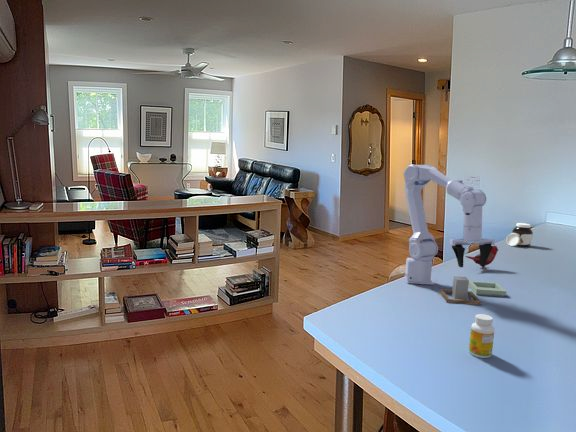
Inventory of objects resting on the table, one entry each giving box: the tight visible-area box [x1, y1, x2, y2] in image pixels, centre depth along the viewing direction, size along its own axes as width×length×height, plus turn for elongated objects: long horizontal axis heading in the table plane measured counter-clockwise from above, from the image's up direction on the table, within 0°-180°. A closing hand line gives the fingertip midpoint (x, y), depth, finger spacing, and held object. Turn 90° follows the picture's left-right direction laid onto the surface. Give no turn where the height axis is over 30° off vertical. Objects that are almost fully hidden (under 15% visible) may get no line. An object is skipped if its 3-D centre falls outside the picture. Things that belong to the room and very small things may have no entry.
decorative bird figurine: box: [464, 245, 499, 270], centre depth 199 cm, size 3×18×10 cm, turn 112°
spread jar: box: [505, 222, 534, 248], centre depth 251 cm, size 12×11×12 cm
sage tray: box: [468, 280, 507, 298], centre depth 170 cm, size 10×10×2 cm
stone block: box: [451, 276, 470, 300], centre depth 161 cm, size 4×4×7 cm
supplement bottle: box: [468, 313, 495, 359], centre depth 118 cm, size 5×5×10 cm
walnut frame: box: [438, 288, 482, 305], centre depth 161 cm, size 11×11×1 cm
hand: (471, 266), depth 159 cm, fingers open, 7 cm apart
